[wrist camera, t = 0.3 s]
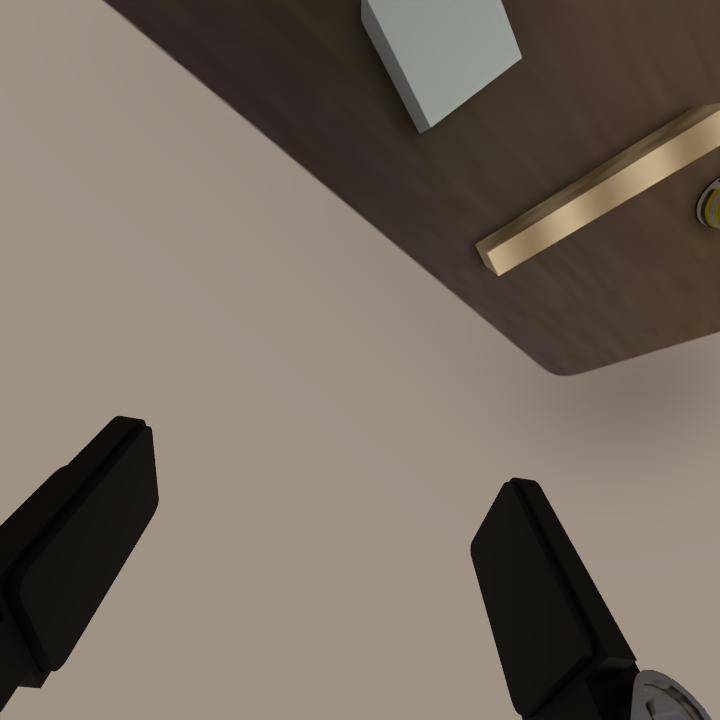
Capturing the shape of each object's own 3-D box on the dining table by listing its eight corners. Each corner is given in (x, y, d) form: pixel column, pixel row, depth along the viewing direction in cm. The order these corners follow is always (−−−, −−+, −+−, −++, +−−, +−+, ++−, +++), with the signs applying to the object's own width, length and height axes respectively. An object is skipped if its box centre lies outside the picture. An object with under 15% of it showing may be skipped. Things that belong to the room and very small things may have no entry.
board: (692, 107, 30) (735, 100, 27) (697, 136, 31) (740, 133, 28) (474, 244, 36) (487, 253, 32) (485, 265, 37) (498, 276, 33)
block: (441, -52, 26) (461, -108, 21) (493, 77, 29) (521, 57, 24) (361, 21, 28) (361, -13, 23) (419, 134, 31) (431, 127, 26)
